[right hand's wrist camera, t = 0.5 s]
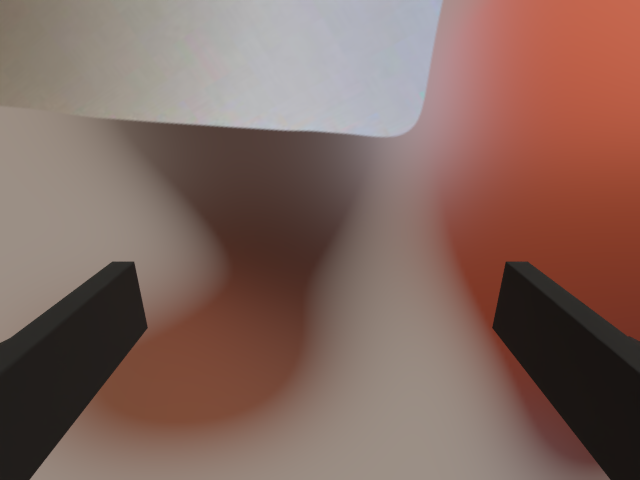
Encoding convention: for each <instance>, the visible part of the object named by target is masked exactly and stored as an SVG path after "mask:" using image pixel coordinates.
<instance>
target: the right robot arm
mask: <svg viewBox="0 0 640 480" xmlns="http://www.w3.org/2000/svg"><path fill="white" fill-rule="evenodd" d="M147 328H148V327H147V322H146V318H145V313H144V308H143V303H142V298H141V293H140V288H139V283H138V278H137V273H136V269H135V264H134V262H111V263H110V264H109V265H107V266H106V267H105V268H103V269H102V270H101V271H99V272H98V273H97V274H95V275H94V276H93V277H91V278H90V279H89V280H87V281H86V282H85V283H83V284H82V285H81V286H79V287H78V288H77V289H75V290H74V291H73V292H71V293H70V294H69V295H67V296H66V297H65V298H63V299H62V300H61V301H59V302H58V303H57V304H55V305H54V306H53V307H51V308H50V309H49V310H47V311H46V312H45V313H43V314H42V315H40V316H39V317H38V318H37V319H35V320H34V321H33V322H31V323H30V324H28V325H27V326H26V327H25V328H23V329H22V330H21V331H19V332H18V333H16V334H15V335H14V336H12V337H11V338H9V339H7V340H5V341H3V342H1V343H0V480H30V478H31V477H32V476H33V474H34V473H35V472H36V471H37V469H38V468H39V467H40V465H41V464H42V463H43V462H44V460H45V459H46V458H47V456H48V455H49V454H50V453H51V451H52V450H53V449H54V447H55V446H56V445H57V444H58V442H59V441H60V440H61V438H62V437H63V436H64V435H65V433H66V432H67V431H68V429H69V428H70V427H71V426H72V424H73V423H74V422H75V420H76V419H77V418H78V417H79V415H80V414H81V413H82V411H83V410H84V409H85V408H86V406H87V405H88V404H89V403H90V401H91V400H92V399H93V397H94V396H95V395H96V394H97V392H98V391H99V390H100V388H101V387H102V386H103V385H104V383H105V382H106V381H107V379H108V378H109V377H110V376H111V374H112V373H113V372H114V370H115V369H116V368H117V367H118V365H119V364H120V363H121V361H122V360H123V359H124V358H125V356H126V355H127V354H128V352H129V351H130V350H131V348H132V347H133V346H134V345H135V343H136V342H137V341H138V340H139V338H140V337H141V336H142V334H143V333H144V332H145V331H146V329H147ZM492 328H493V329H494V331H495V332H496V333H497V334H498V336H499V337H500V338H501V339H502V341H503V342H504V343H505V345H506V346H507V347H508V349H509V350H510V351H511V352H512V354H513V355H514V356H515V357H516V359H517V360H518V361H519V363H520V364H521V365H522V367H523V368H524V369H525V370H526V372H527V373H528V374H529V376H530V377H531V378H532V379H533V381H534V382H535V383H536V384H537V386H538V387H539V388H540V390H541V391H542V392H543V394H544V395H545V396H546V397H547V399H548V400H549V401H550V403H551V404H552V405H553V406H554V408H555V409H556V410H557V412H558V413H559V414H560V415H561V416H562V418H563V419H564V420H565V422H566V423H567V424H568V426H569V427H570V428H571V429H572V431H573V432H574V433H575V435H576V436H577V437H578V438H579V440H580V441H581V442H582V444H583V445H584V446H585V447H586V449H587V450H588V451H589V453H590V454H591V455H592V456H593V458H594V459H595V460H596V462H597V463H598V464H599V465H600V467H601V468H602V469H603V471H604V472H605V473H606V474H607V476H608V477H609V478H610V480H640V341H638V340H636V339H634V338H632V337H628V336H626V335H625V334H624V333H622V332H621V331H619V330H618V329H617V328H616V327H614V326H613V325H612V324H610V323H609V322H608V321H606V320H605V319H603V318H602V317H601V316H600V315H598V314H597V313H595V312H594V311H593V310H591V309H590V308H589V307H587V306H586V305H585V304H583V303H582V302H581V301H579V300H578V299H577V298H575V297H574V296H573V295H571V294H570V293H569V292H567V291H566V290H565V289H563V288H562V287H561V286H559V285H558V284H557V283H555V282H554V281H553V280H551V279H550V278H549V277H547V276H546V275H545V274H543V273H542V272H541V271H539V270H538V269H537V268H535V267H534V266H533V265H531V264H530V263H529V262H506V264H505V269H504V273H503V278H502V283H501V288H500V293H499V298H498V303H497V308H496V313H495V317H494V322H493V327H492Z"/></svg>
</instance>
